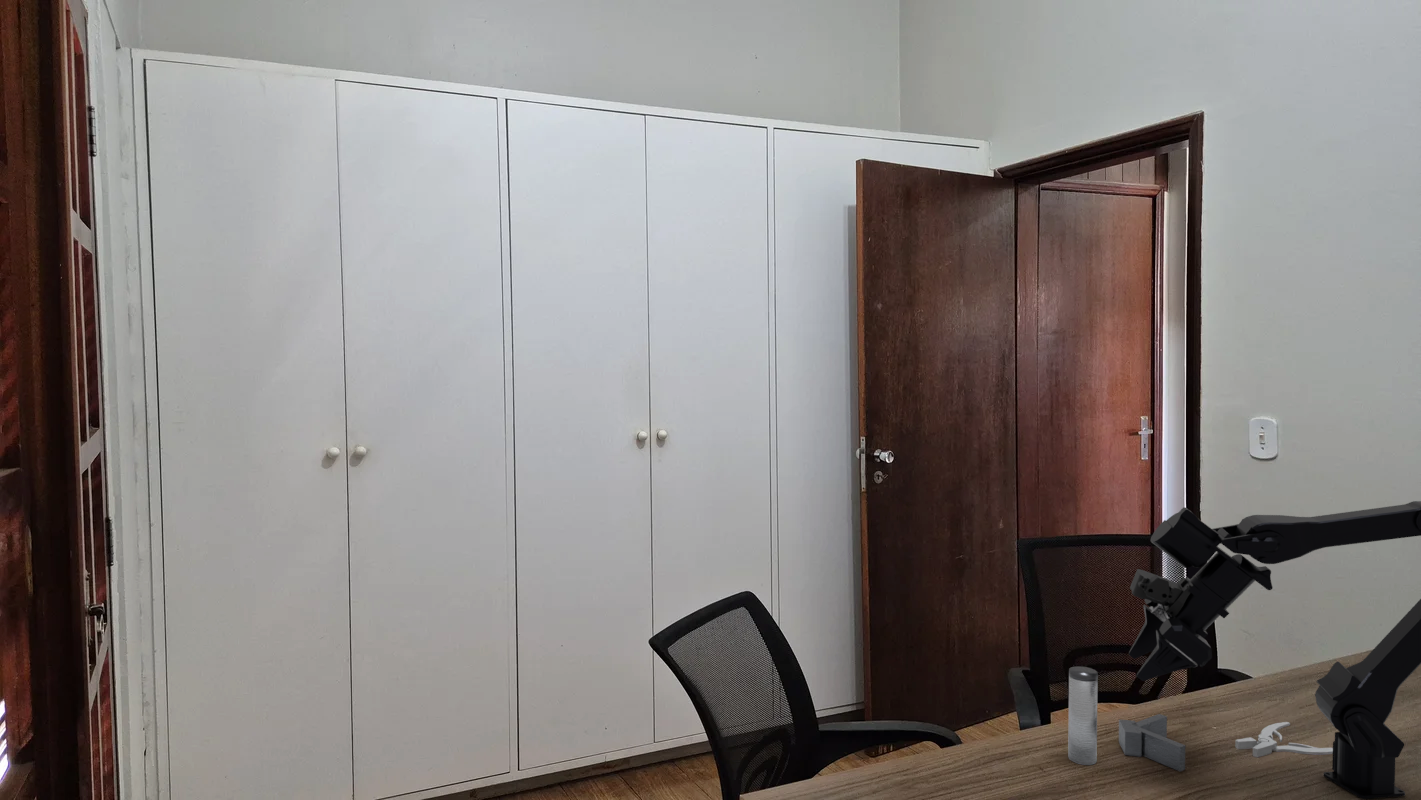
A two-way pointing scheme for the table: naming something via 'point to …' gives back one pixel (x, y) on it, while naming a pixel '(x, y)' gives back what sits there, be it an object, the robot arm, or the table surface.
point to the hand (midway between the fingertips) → (1135, 666)
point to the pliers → (1269, 745)
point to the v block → (1151, 741)
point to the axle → (1082, 715)
